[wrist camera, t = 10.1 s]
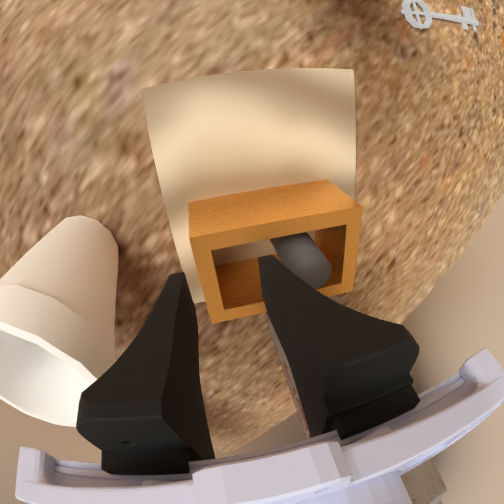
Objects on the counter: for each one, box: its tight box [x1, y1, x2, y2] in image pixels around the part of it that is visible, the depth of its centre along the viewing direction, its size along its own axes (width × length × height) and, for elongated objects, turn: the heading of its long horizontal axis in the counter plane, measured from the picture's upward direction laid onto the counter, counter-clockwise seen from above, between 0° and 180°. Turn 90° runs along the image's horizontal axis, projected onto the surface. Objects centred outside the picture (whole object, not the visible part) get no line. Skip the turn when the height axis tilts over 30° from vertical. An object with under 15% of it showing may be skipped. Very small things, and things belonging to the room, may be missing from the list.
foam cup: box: [0, 215, 118, 427], centre depth 15 cm, size 10×9×13 cm
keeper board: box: [141, 68, 356, 303], centre depth 18 cm, size 17×14×8 cm
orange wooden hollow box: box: [188, 180, 362, 323], centre depth 19 cm, size 10×6×5 cm, turn 96°
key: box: [401, 0, 479, 32], centre depth 15 cm, size 12×1×3 cm
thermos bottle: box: [268, 295, 447, 504], centre depth 18 cm, size 8×8×28 cm
